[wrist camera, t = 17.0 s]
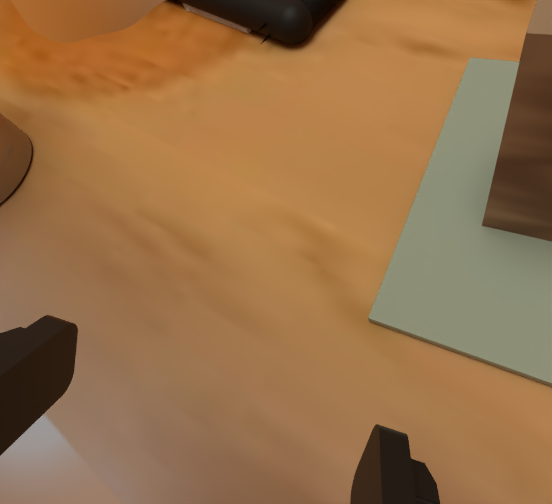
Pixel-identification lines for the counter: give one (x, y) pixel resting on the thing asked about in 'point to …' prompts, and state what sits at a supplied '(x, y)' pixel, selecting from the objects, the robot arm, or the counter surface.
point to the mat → (471, 246)
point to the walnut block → (527, 140)
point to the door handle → (265, 15)
